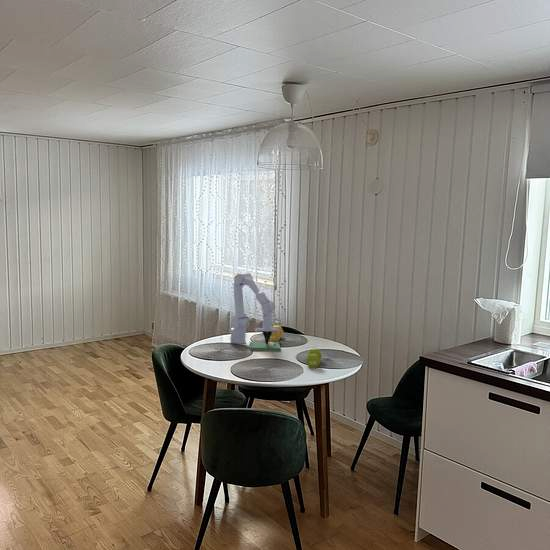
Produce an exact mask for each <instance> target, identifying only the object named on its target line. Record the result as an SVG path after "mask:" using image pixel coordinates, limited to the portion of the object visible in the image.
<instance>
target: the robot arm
mask: <svg viewBox="0 0 550 550" xmlns="http://www.w3.org/2000/svg"><path fill="white" fill-rule="evenodd" d="M233 281H234V282H233V288H232V289H233V297H234V298H233V301H234V312H235V313H234V314H233V316H232V321H231V326H232V328H230V337H229V340H230V344H247V340H246V334H247V333H246V332H247V331H246V328H247V326H249V319H248V316H247V314H246V313H245V309H244V308H245V306H244V294H243V292H244V291H243V289H244V287H245V286H248V287H249V288H250V290H251V291H252V292H253V293H254V294H255V299H256V300H257V301H258V303H259V304H260V306H261V307H260V308H261V311H262V327H255V330H254V332H255V333H262V335H263V337H264V342H265V344H268V342H269V338H270V336H271V334H272V332H279V329H275V328H272V327H273V313H274V310H275V308H276V305H275V302H273V301H272V300H270V299H269V297H268V296H267V295H266V293H265V292H263V291H261V290H260V288H259V287H258V286H257V283H256V282H255V281H254V277H253V276H252V274H251V273H250V272H241V273H236V275H234V277H233Z"/></svg>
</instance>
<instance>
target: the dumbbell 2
mask: <svg viewBox="0 0 550 550" xmlns="http://www.w3.org/2000/svg"><path fill="white" fill-rule="evenodd" d="M272 328H275V329H279V332H272V334H271V336H270V338H269V341H268V342H279V341H280V339H281V337H282V336H283V335H284V330H283V327H282V326H281V325H272Z"/></svg>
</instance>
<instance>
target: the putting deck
mask: <svg viewBox="0 0 550 550" xmlns="http://www.w3.org/2000/svg"><path fill="white" fill-rule="evenodd" d="M269 343H270V342H269V341H268V344H269ZM273 343H274V346H268V344H265V341H250V342H249V349H250V352H281V351H282V347H281V345H280V343H279V341H278V342H273Z"/></svg>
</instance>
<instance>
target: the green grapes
mask: <svg viewBox="0 0 550 550" xmlns="http://www.w3.org/2000/svg"><path fill="white" fill-rule="evenodd" d="M322 356H323V354H322V352H321V350H320V349H319V348H311V349H310V350H309V352H308V353H307V357H306V359H305V363H306V366H307V367H308V368H309V369H317V368H318V367H319V366H320V364H321V359H322Z"/></svg>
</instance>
